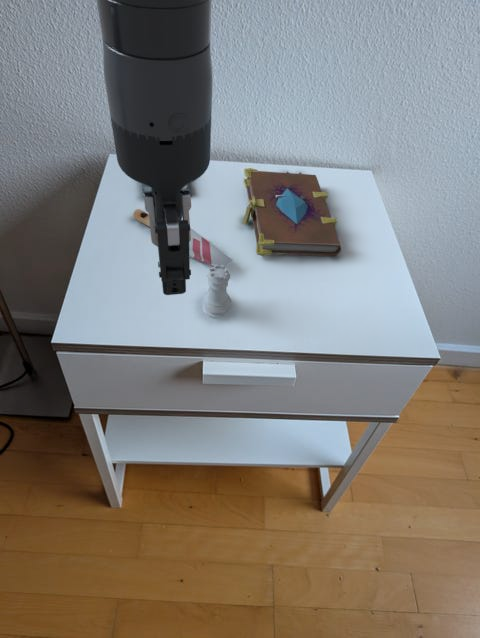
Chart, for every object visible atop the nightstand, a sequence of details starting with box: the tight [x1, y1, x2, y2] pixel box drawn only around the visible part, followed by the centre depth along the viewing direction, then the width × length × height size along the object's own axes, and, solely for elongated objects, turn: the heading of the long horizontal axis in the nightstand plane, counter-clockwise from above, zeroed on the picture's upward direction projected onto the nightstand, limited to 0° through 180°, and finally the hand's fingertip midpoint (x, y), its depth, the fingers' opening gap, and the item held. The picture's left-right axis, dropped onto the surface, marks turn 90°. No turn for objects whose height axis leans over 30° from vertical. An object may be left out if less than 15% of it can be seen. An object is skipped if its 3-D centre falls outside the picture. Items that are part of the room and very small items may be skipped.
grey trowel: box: [132, 208, 234, 268], centre depth 71 cm, size 4×3×20 cm
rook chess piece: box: [201, 264, 232, 318], centre depth 62 cm, size 4×4×8 cm
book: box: [242, 167, 342, 257], centre depth 78 cm, size 16×25×5 cm, turn 6°
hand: (170, 261), depth 45 cm, fingers open, 8 cm apart
